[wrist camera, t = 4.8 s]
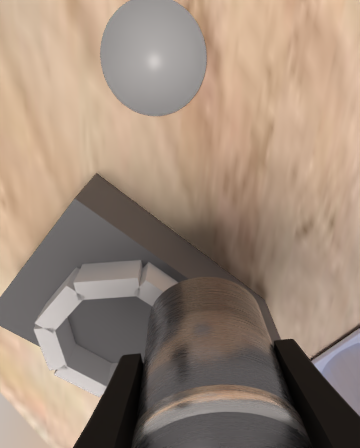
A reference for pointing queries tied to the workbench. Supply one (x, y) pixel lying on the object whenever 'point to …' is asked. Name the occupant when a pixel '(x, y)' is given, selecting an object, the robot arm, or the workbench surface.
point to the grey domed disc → (153, 56)
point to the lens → (213, 374)
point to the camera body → (101, 285)
